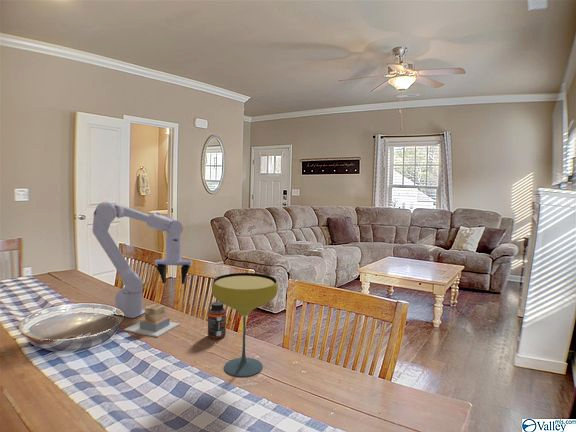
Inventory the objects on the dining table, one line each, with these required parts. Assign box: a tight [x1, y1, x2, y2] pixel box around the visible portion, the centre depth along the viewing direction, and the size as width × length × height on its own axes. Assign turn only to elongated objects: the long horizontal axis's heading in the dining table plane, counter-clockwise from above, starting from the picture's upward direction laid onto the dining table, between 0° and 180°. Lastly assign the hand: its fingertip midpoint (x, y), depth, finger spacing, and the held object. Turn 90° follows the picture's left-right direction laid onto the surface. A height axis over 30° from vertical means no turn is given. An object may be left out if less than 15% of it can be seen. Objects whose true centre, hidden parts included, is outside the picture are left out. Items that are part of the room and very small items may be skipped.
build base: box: [123, 316, 181, 338], centre depth 134 cm, size 14×12×3 cm
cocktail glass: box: [211, 272, 279, 378], centre depth 107 cm, size 18×18×25 cm
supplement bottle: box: [207, 301, 227, 340], centre depth 128 cm, size 6×6×11 cm
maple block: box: [144, 303, 165, 323], centre depth 133 cm, size 4×4×4 cm
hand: (173, 283), depth 154 cm, fingers open, 7 cm apart
